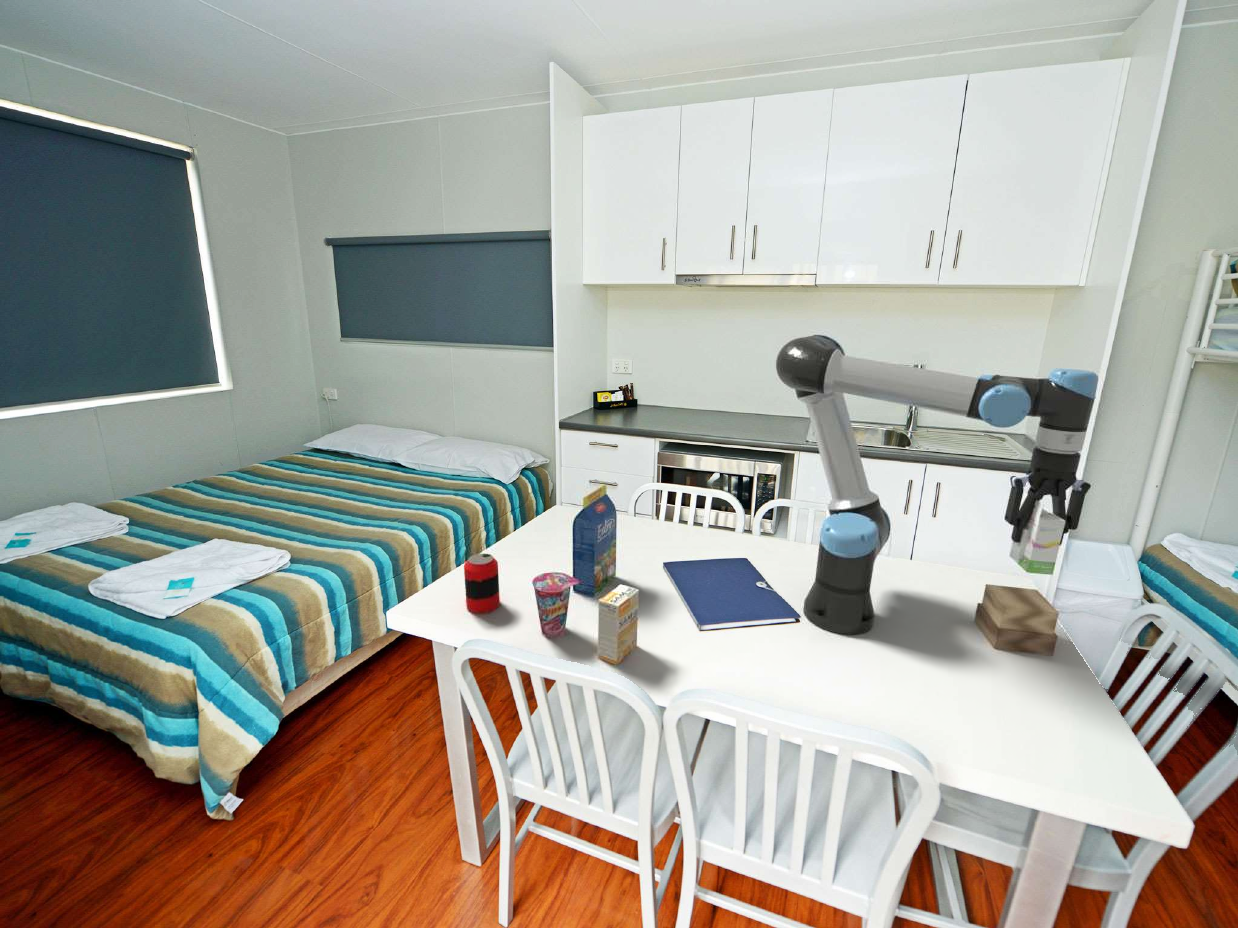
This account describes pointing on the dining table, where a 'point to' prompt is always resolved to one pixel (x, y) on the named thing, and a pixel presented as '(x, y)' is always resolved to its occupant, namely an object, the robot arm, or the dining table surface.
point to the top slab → (1019, 609)
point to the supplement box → (617, 623)
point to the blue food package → (594, 543)
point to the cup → (553, 601)
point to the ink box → (1041, 540)
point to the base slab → (1013, 636)
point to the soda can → (481, 583)
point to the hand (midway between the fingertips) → (1032, 557)
